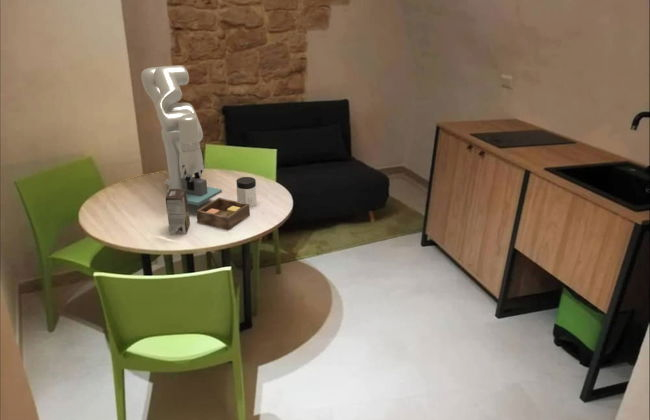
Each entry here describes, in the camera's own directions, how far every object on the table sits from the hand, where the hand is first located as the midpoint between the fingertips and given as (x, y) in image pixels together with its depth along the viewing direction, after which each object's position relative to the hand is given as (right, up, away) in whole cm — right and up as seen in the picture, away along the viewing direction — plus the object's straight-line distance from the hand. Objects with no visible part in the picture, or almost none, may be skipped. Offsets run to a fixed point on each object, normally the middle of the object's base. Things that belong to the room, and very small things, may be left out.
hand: (194, 187), depth 206 cm
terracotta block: (+10, -14, -9) cm, 19 cm away
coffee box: (-1, -18, -16) cm, 24 cm away
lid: (0, -3, +1) cm, 3 cm away
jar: (+21, -8, +7) cm, 24 cm away
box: (+14, -14, -7) cm, 21 cm away
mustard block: (+18, -12, -6) cm, 23 cm away
